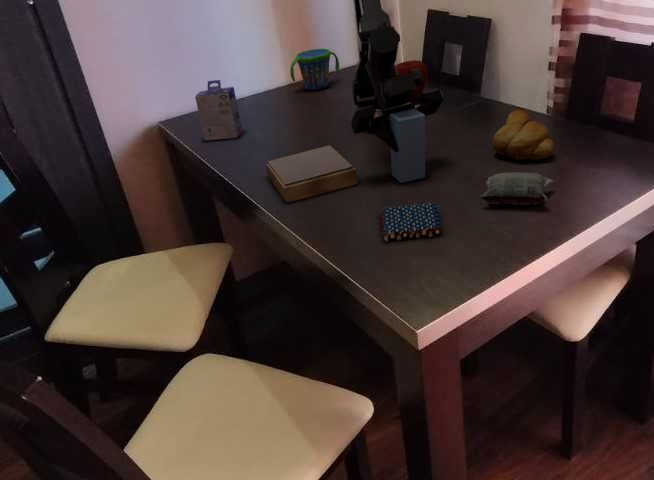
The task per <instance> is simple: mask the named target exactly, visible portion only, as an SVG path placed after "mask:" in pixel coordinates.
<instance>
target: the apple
mask: <svg viewBox="0 0 654 480" xmlns="http://www.w3.org/2000/svg"><path fill="white" fill-rule="evenodd" d="M395 66H396V69H397V72H398V74H399V75H400V74H402V75H406V74H408V72H409V71H410V70H411V69H415V68H419V69H420V71H421V73H422V77H423V83H422V84H421V85H419V86H416V90H415V91H414V90H413V91H412V92H411V93H412V96H411V98H409V99H408V101H409V102H411V101H415V100H418V98H419V96H420V94H421V92H424V91H425V88H426V86H427V85H426V84H427V79H428V69H427V66H426V64H425V63H424V62H423V61H421V60H419V59H417V60H406V61H402V62H399V63H397V64H395Z"/></svg>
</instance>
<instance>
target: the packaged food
mask: <svg viewBox="0 0 654 480" xmlns="http://www.w3.org/2000/svg"><path fill="white" fill-rule="evenodd" d="M553 183H554V180H553V179H550V178H549V177H546V176H543V175H542V174H540V173H536V172H526V171H525V172H524V171H523V172H522V171H520V172H517V171H515V172H514V171H513V172H512V171H507V172H500V173H497V174H496V173H495V174H493V175H492V176H490V177H489V176H487V180H486V182H485V184H486V186H487V187H486V188H487V190H486V191H485V192H484V193H482V195H480V199H482V200H484V201H486V202H487V203H488V204H492V205H512V206H513V205H516V206H517V205H518V206H522V205H523V206H526V205H528V206H530V205H540V204H541V203H543V202H546V203H549V200H548V197H547V196H546V195H545V193H544V191H545V190H546V189H548V187H549V186H550V185H552V184H553Z"/></svg>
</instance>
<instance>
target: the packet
mask: <svg viewBox="0 0 654 480" xmlns="http://www.w3.org/2000/svg"><path fill="white" fill-rule="evenodd" d="M389 126H390V128H391V131H392V133H393V135H394V138H395V140H396V142H397V146H398V149H399V151H398V152H397V153H396V152H395V151H393V150H392V149H391V148H390V160H391V161H390V162H391V165H390V166H391V176H392V177H393V178H395V179H396V181H398V182H399V183H400V184H403V183H408V182H412V181H415V180H420V179H424V178H426V119H425V115H424V114H422V113H421V112H419V111H418V110H416V109H411V110H407V111H402V112H398V113H393V114H390V117H389Z"/></svg>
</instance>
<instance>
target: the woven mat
mask: <svg viewBox="0 0 654 480" xmlns="http://www.w3.org/2000/svg"><path fill="white" fill-rule="evenodd" d="M380 219H381V221H380V222H381V228H382V229H381V232H382V233H381V234H382V236H383V237H384V241H385V242H386V243H387V242H388V241H389V238H390V239H395V238H396V240H397V241H401V240H402V237H403V238H407V237H408V236H409V238H410V239H412V238H414V235H415V238H420V237H421V235H422V236H426V235H427V234H428V238H431V237H433V232H434V233H435V235H439V234H440V231H442V229H443V228H442V222H441V218H440V214H439V210H438V206H437V202H432V203H431V202H430V203H428V202H425V204H424V203H423V204H422V205H421V204H419V203H417V204H414V205H412V204H409V205H405V206H404V205H401V206H398V207H396V206H393V207H390V208H389V207H384V208H383V209H382V211H381V212H380ZM401 235H402V237H401Z"/></svg>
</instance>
